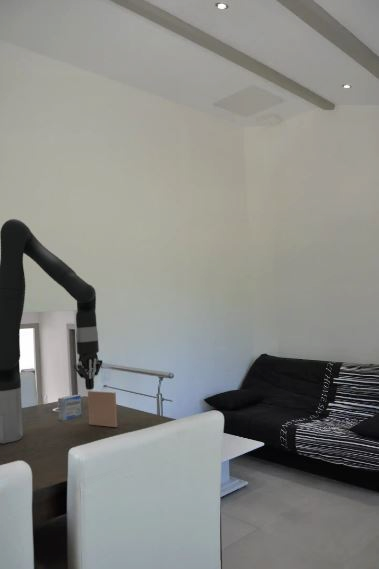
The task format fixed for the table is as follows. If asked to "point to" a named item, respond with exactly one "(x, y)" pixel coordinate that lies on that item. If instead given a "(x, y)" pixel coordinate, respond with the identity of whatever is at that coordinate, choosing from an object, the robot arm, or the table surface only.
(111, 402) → the terracotta tile
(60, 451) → the table surface
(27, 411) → the table surface
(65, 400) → the medicine box
